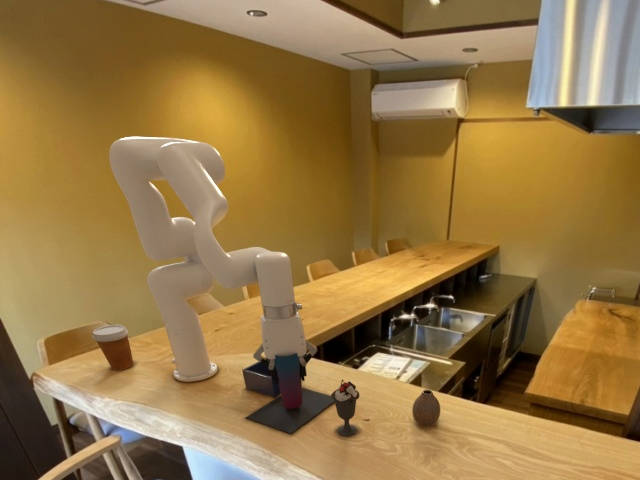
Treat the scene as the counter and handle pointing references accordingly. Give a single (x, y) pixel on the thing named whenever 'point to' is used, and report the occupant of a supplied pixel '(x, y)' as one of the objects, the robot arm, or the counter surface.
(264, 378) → the holder
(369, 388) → the counter surface
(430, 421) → the vase
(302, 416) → the mat
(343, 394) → the sundae
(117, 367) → the disposable coffee cup
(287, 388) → the cup
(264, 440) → the counter surface
